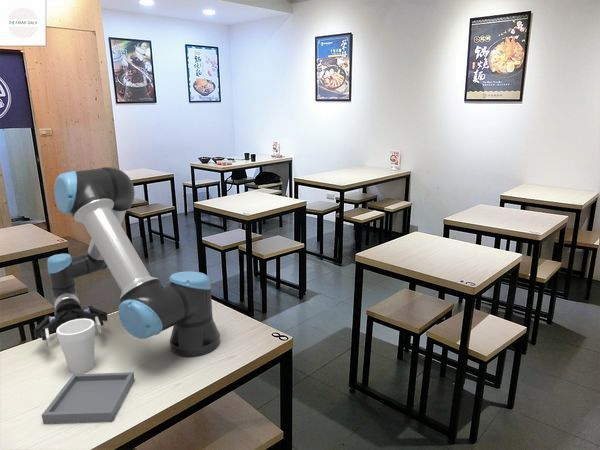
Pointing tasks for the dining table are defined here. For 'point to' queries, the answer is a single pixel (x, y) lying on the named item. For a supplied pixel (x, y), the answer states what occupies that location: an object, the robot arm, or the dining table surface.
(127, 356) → the dining table surface
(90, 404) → the serving tray
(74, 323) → the foam cup
